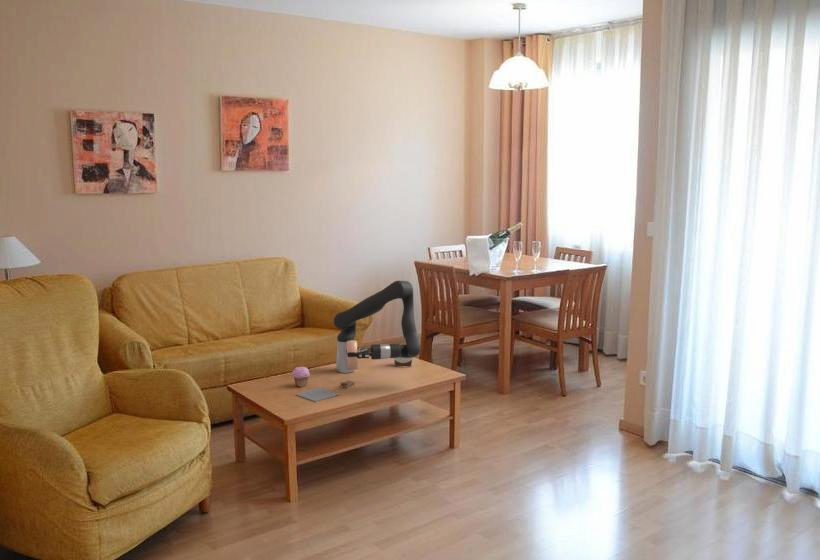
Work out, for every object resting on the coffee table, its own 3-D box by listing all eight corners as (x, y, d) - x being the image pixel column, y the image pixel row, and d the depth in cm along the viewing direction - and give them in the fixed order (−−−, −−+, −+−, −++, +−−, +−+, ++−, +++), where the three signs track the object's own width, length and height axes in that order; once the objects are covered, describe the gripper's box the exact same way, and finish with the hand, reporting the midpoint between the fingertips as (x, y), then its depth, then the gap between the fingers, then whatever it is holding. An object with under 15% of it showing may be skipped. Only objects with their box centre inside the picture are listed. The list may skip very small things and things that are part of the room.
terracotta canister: (344, 368, 364) (344, 341, 362) (352, 366, 368) (352, 339, 365) (351, 370, 360) (351, 343, 358) (359, 368, 364) (359, 341, 362)
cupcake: (289, 385, 375) (288, 366, 373) (302, 382, 381) (302, 363, 380) (299, 389, 369) (299, 370, 367) (313, 385, 375) (313, 366, 373)
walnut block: (340, 387, 374) (340, 382, 374) (347, 384, 378) (347, 380, 378) (347, 388, 371) (347, 384, 371) (354, 386, 375) (354, 381, 374)
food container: (414, 364, 416) (415, 347, 414) (413, 367, 410) (414, 349, 408) (393, 363, 417) (393, 346, 415) (392, 366, 411) (392, 349, 409)
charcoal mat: (296, 395, 360) (296, 394, 360) (319, 388, 370) (319, 387, 370) (315, 402, 349) (315, 400, 349) (339, 395, 360) (339, 393, 360)
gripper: (378, 340, 372) (345, 342, 369) (382, 347, 358) (348, 349, 355) (378, 355, 373) (345, 356, 370) (382, 362, 359) (348, 364, 356)
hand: (346, 353), depth 362 cm, fingers closed on terracotta canister, 5 cm apart
